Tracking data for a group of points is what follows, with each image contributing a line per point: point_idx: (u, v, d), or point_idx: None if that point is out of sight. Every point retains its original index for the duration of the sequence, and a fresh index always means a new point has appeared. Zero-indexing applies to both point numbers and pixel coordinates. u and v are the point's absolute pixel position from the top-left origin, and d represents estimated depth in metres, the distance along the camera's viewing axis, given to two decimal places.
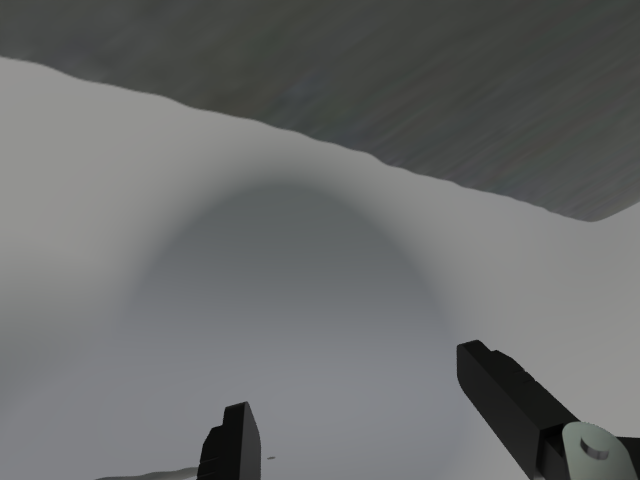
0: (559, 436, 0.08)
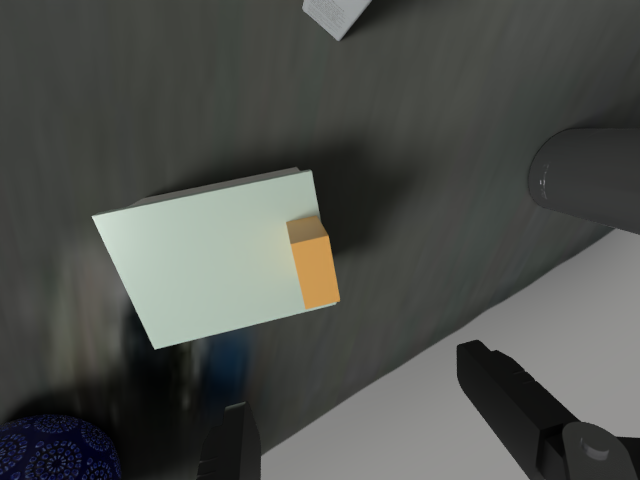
0: (559, 436, 0.08)
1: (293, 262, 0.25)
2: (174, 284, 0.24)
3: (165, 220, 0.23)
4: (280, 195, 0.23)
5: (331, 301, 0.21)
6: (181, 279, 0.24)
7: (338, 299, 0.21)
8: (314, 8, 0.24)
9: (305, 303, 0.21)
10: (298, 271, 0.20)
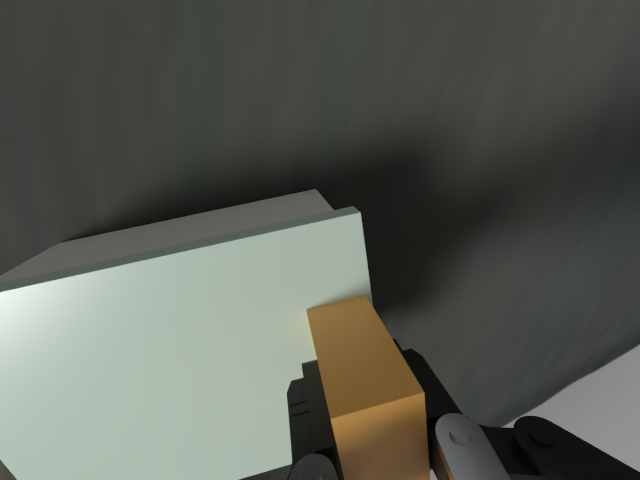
0: None
1: None
2: (88, 429, 0.12)
3: (55, 318, 0.11)
4: (296, 261, 0.11)
5: None
6: (101, 420, 0.12)
7: None
8: None
9: None
10: (346, 469, 0.08)
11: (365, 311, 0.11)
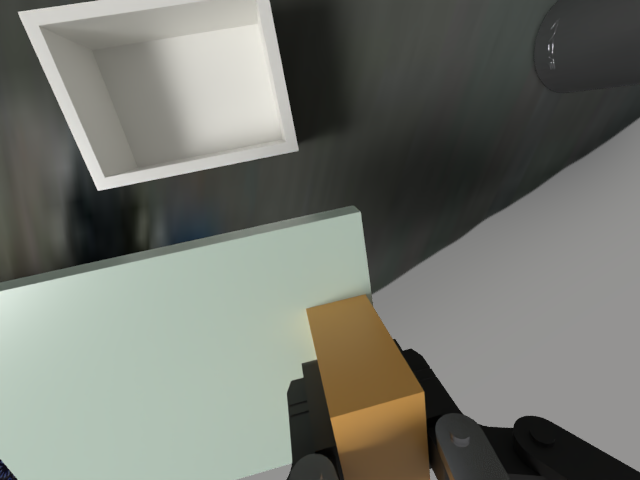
0: None
1: None
2: (88, 428, 0.12)
3: (55, 317, 0.11)
4: (296, 260, 0.11)
5: None
6: (101, 419, 0.12)
7: None
8: None
9: None
10: (345, 468, 0.08)
11: (365, 310, 0.11)
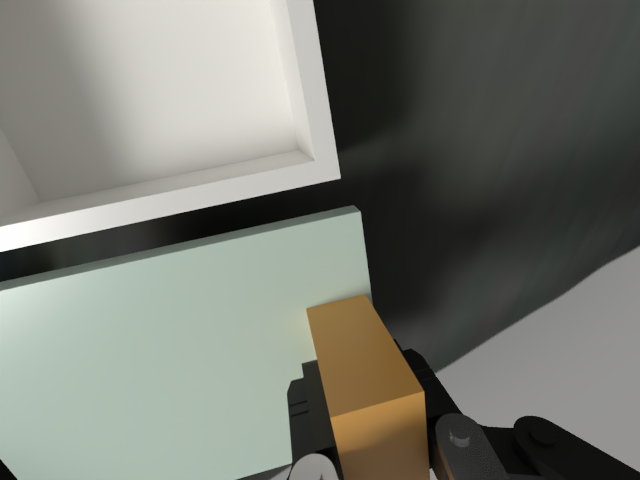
0: None
1: None
2: (87, 428, 0.12)
3: (54, 317, 0.11)
4: (296, 260, 0.11)
5: None
6: (101, 419, 0.12)
7: None
8: None
9: None
10: (345, 468, 0.08)
11: (365, 310, 0.11)
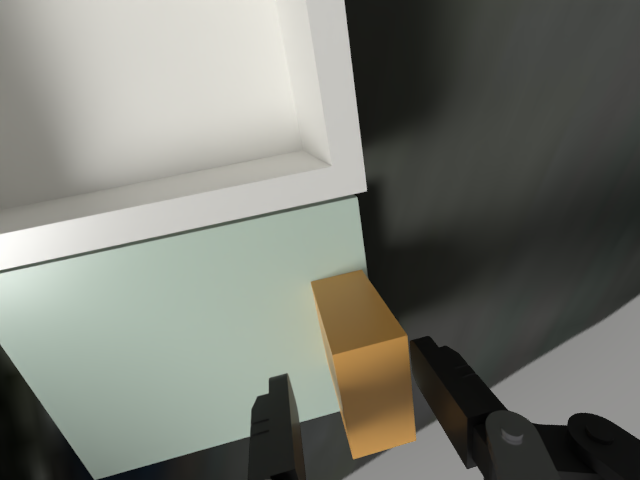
0: None
1: (320, 342, 0.16)
2: (122, 385, 0.14)
3: (99, 285, 0.13)
4: (302, 239, 0.13)
5: (400, 442, 0.12)
6: (133, 377, 0.14)
7: (413, 438, 0.12)
8: None
9: (353, 450, 0.11)
10: (344, 400, 0.10)
11: (361, 281, 0.13)
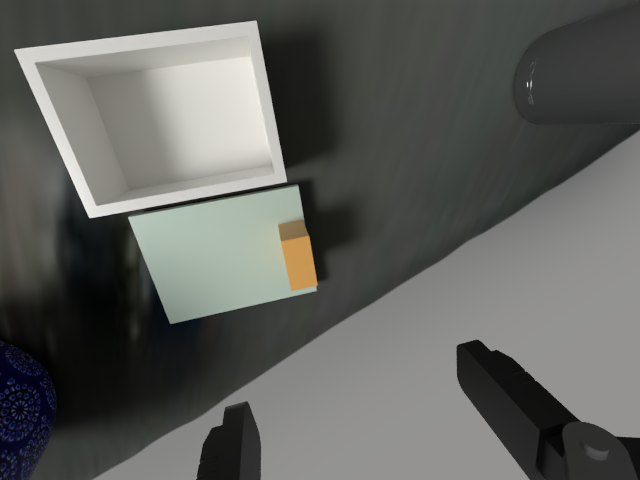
0: (559, 436, 0.08)
1: (283, 256, 0.32)
2: (188, 271, 0.31)
3: (184, 221, 0.29)
4: (273, 204, 0.30)
5: (311, 285, 0.28)
6: (194, 268, 0.31)
7: (316, 284, 0.28)
8: None
9: (291, 286, 0.28)
10: (286, 262, 0.27)
11: (299, 223, 0.30)
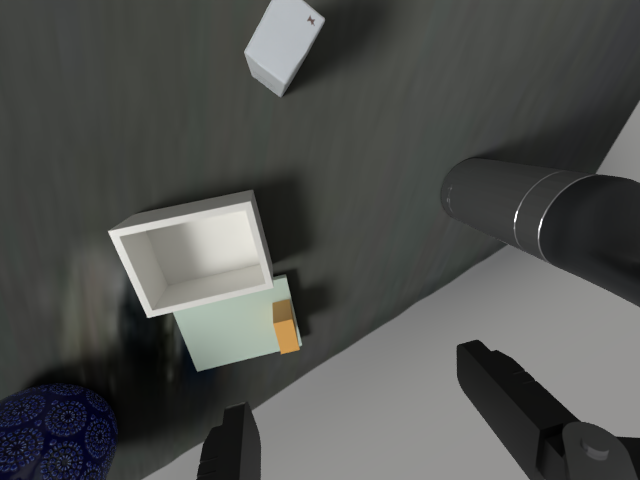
0: (559, 436, 0.08)
1: None
2: (210, 336, 0.44)
3: (207, 304, 0.42)
4: (269, 290, 0.43)
5: (294, 349, 0.41)
6: (214, 333, 0.44)
7: (298, 348, 0.41)
8: (258, 78, 0.34)
9: (281, 351, 0.41)
10: (277, 336, 0.40)
11: (287, 303, 0.43)
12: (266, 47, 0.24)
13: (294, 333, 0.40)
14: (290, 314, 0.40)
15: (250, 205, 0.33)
